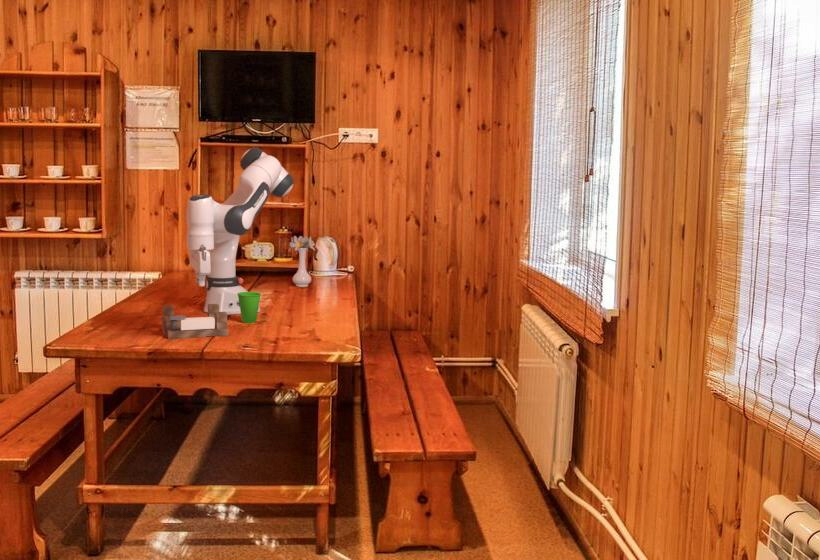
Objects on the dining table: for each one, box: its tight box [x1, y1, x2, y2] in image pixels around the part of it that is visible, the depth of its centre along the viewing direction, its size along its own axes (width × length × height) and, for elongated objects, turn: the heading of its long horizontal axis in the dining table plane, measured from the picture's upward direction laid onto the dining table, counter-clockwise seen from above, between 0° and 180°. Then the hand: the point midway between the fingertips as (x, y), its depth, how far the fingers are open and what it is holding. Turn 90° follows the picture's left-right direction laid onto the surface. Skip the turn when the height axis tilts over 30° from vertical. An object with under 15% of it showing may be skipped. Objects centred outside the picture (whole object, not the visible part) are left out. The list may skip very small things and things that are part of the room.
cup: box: [237, 291, 262, 324], centre depth 302 cm, size 9×9×11 cm
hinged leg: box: [170, 314, 215, 330], centre depth 275 cm, size 15×4×5 cm, turn 113°
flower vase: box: [288, 235, 316, 288], centre depth 393 cm, size 13×18×25 cm
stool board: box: [161, 304, 229, 340], centre depth 283 cm, size 21×20×8 cm
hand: (200, 284), depth 267 cm, fingers open, 3 cm apart
